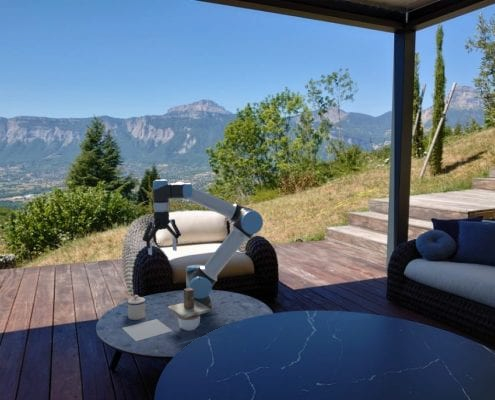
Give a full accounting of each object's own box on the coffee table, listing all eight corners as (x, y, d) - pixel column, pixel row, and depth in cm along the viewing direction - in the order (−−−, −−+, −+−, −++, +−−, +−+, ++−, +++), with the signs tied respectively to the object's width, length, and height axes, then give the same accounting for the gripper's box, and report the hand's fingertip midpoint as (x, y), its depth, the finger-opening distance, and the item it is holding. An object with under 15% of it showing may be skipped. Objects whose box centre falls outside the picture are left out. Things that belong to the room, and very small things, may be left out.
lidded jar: (202, 324, 202) (202, 306, 201) (198, 334, 191) (197, 314, 190) (181, 324, 203) (180, 305, 202) (175, 333, 192) (175, 314, 191)
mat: (156, 319, 208) (156, 318, 208) (172, 331, 194) (172, 330, 194) (121, 329, 198) (121, 328, 198) (135, 342, 183) (135, 341, 183)
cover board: (195, 302, 206) (194, 282, 205) (210, 311, 194) (210, 290, 193) (167, 308, 197) (167, 288, 196) (182, 318, 185) (182, 296, 184)
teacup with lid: (149, 316, 213) (148, 294, 211) (135, 322, 206) (134, 299, 204) (135, 311, 220) (134, 290, 219) (121, 316, 213) (120, 295, 212)
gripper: (179, 207, 215) (180, 247, 217) (134, 212, 199) (136, 254, 202) (186, 209, 209) (188, 249, 211) (140, 213, 194) (142, 257, 196)
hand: (162, 252), depth 206 cm, fingers open, 13 cm apart
